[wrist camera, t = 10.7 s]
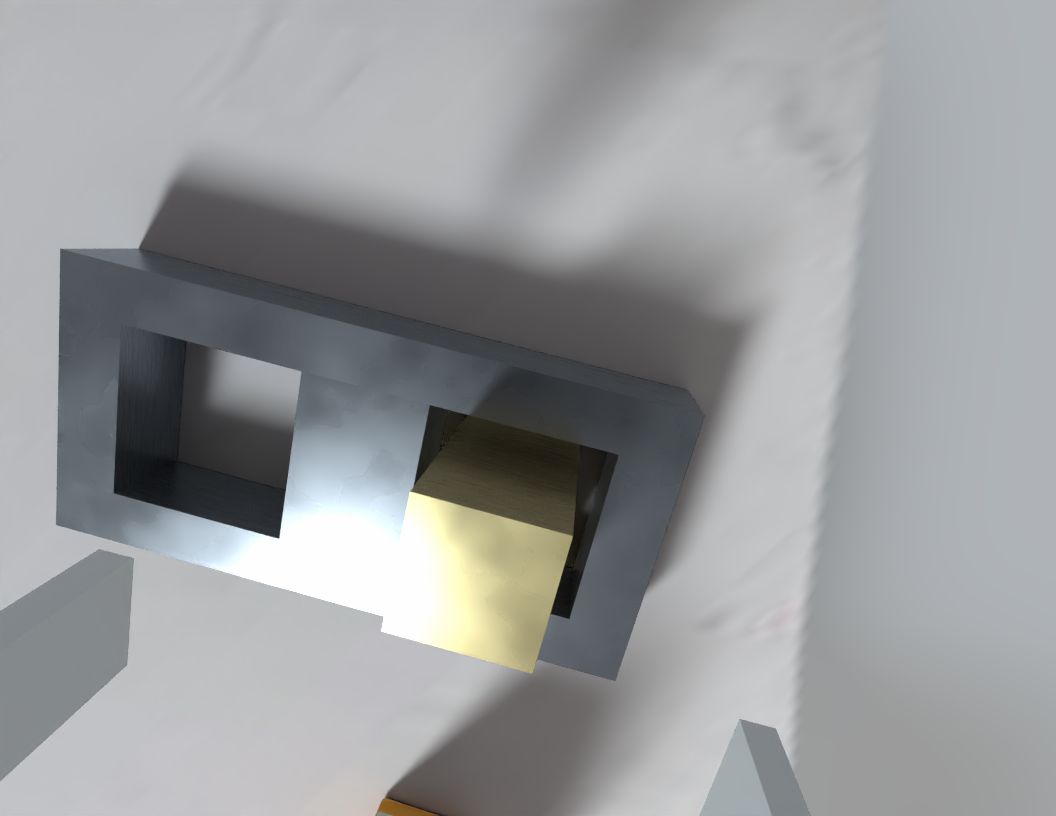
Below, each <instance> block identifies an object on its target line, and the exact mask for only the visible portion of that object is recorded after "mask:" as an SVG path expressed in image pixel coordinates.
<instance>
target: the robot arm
mask: <svg viewBox="0 0 1056 816" xmlns="http://www.w3.org/2000/svg"><path fill="white" fill-rule="evenodd" d="M133 563H134V558H130V557H127V556H123V555H119V554H115V553H112V552H108V551H104V550H100V549H99V550H97V551H96V552H94V553H92V554H91V555H89V556H88V557H86V558H84V559H83V560H81V561H80V562H78V563H76V564H75V565H73V566H72V567H70V568H68V569H67V570H65V571H64V572H62V573H60V574H59V575H57V576H56V577H54V578H52V579H51V580H49V581H48V582H46V583H44V584H43V585H41V586H40V587H38V588H36V589H35V590H33V591H32V592H30V593H28V594H27V595H25V596H24V597H22V598H20V599H19V600H17V601H16V602H14V603H12V604H11V605H9V606H8V607H6V608H4V609H3V610H1V611H0V781H1V780H2V779H3V778H4V777H5V776H7V775H8V774H9V773H10V772H11V771H12V770H13V769H14V768H15V767H16V766H17V765H19V764H20V763H21V762H22V761H23V760H24V759H25V758H26V757H27V756H28V755H29V754H31V753H32V752H33V751H34V750H35V749H36V748H37V747H38V746H39V745H40V744H41V743H43V742H44V741H45V740H46V739H47V738H48V737H49V736H50V735H51V734H52V733H53V732H55V731H56V730H57V729H58V728H59V727H60V726H61V725H62V724H63V723H64V722H65V721H67V720H68V719H69V718H70V717H71V716H72V715H73V714H74V713H75V712H76V711H77V710H79V709H80V708H81V707H82V706H83V705H84V704H85V703H86V702H87V701H88V700H89V699H91V698H92V697H93V696H94V695H95V694H96V693H97V692H98V691H99V690H100V689H101V688H103V687H104V686H105V685H106V684H107V683H108V682H109V681H110V680H111V679H112V678H113V677H115V676H116V675H117V674H118V673H119V672H120V671H121V670H122V669H123V668H124V667H125V666H127V660H128V644H129V628H130V611H131V595H132V579H133ZM700 816H811V815H810V812H809V810H808V808H807V805H806V803H805V800H804V798H803V795H802V793H801V790H800V788H799V785H798V783H797V780H796V778H795V775H794V773H793V770H792V768H791V765H790V763H789V760H788V758H787V755H786V753H785V750H784V748H783V745H782V743H781V740H780V738H779V735H778V733H777V730H776V729H775V728H771V727H768V726H764V725H760V724H756V723H753V722H749V721H745V720H741V719H739V722H738V724H737V726H736V729H735V731H734V734H733V736H732V738H731V741H730V743H729V746H728V748H727V750H726V753H725V755H724V758H723V760H722V763H721V765H720V767H719V770H718V772H717V775H716V777H715V779H714V782H713V784H712V787H711V789H710V791H709V794H708V796H707V799H706V801H705V804H704V806H703V808H702V811H701V813H700Z"/></svg>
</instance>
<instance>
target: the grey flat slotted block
mask: <svg viewBox="0 0 1056 816" xmlns="http://www.w3.org/2000/svg"><path fill="white" fill-rule="evenodd" d="M186 341H189V342H193V343H196V344H200V345H204V346H208V347H212V348H215V349H219V350H223V351H227V352H231V353H234V354H238V355H242V356H246V357H250V358H253V359H257V360H261V361H265V362H269V363H272V364H276V365H280V366H284V367H288V368H291V369H295V370H299V371H302V374H301V381H300V389H299V396H298V403H297V411H296V418H295V426H294V433H293V441H292V448H291V456H290V463H289V471H288V478H287V486H286V491H285V490H281V489H278V488H274V487H270V486H267V485H263V484H259V483H256V482H252V481H248V480H244V479H241V478H237V477H233V476H230V475H226V474H222V473H219V472H215V471H211V470H208V469H204V468H200V467H197V466H193V465H189V464H186V463H182V462H178V461H177V451H178V438H179V425H180V412H181V399H182V386H183V373H184V359H185V346H186ZM448 410H451V411H455V412H458V413H462V414H466V415H470V416H474V417H477V418H481V419H485V420H489V421H493V422H496V423H500V424H504V425H508V426H512V427H515V428H519V429H523V430H527V431H531V432H534V433H538V434H542V435H546V436H550V437H553V438H557V439H561V440H565V441H569V442H572V443H576V444H580V445H584V446H588V447H591V448H595V449H599V450H603V451H607V455H606V459H605V462H604V465H603V469H602V472H601V476H600V479H599V482H598V486H597V489H596V493H595V496H594V499H593V503H592V506H591V509H590V513H589V516H588V520H587V523H586V526H585V530H584V533H583V537H582V540H581V543H580V547H579V550H578V554H577V557H576V560H575V564H574V567H573V569H571V568H568V567H564V569H563V572H562V576H561V579H560V582H559V586H558V589H557V593H556V596H555V599H554V603H553V606H552V610H551V613H550V616H549V620H548V623H547V627H546V630H545V633H544V637H543V640H542V643H541V647H540V650H539V654H538V657H537V659H538V660H542V661H546V662H549V663H553V664H556V665H560V666H563V667H567V668H571V669H574V670H578V671H581V672H585V673H589V674H592V675H596V676H599V677H603V678H606V679H610V680H614V681H615V680H616V677H617V674H618V671H619V668H620V665H621V662H622V659H623V656H624V653H625V650H626V647H627V644H628V641H629V638H630V635H631V632H632V629H633V626H634V624H635V621H636V618H637V615H638V612H639V609H640V606H641V603H642V600H643V597H644V594H645V591H646V588H647V585H648V582H649V579H650V576H651V573H652V570H653V567H654V564H655V561H656V558H657V555H658V553H659V550H660V547H661V544H662V541H663V538H664V535H665V532H666V529H667V526H668V523H669V520H670V517H671V514H672V511H673V508H674V505H675V502H676V499H677V496H678V493H679V490H680V487H681V485H682V482H683V479H684V476H685V473H686V470H687V467H688V464H689V461H690V458H691V455H692V452H693V449H694V446H695V443H696V440H697V437H698V434H699V431H700V428H701V425H702V422H703V419H704V417H705V415H704V414H703V412H702V411H701V409H700V408H699V406H698V404H697V403H696V401H695V400H694V398H693V397H692V395H691V394H690V392H689V391H688V390H685V389H681V388H677V387H673V386H669V385H665V384H661V383H657V382H654V381H650V380H646V379H642V378H638V377H634V376H630V375H626V374H623V373H619V372H615V371H611V370H607V369H603V368H599V367H595V366H591V365H588V364H584V363H580V362H576V361H572V360H568V359H564V358H560V357H556V356H553V355H549V354H545V353H541V352H537V351H533V350H529V349H525V348H522V347H518V346H514V345H510V344H506V343H502V342H498V341H494V340H490V339H487V338H483V337H479V336H475V335H471V334H467V333H463V332H459V331H455V330H452V329H448V328H444V327H440V326H436V325H432V324H428V323H424V322H421V321H417V320H413V319H409V318H405V317H401V316H397V315H393V314H389V313H386V312H382V311H378V310H374V309H370V308H366V307H362V306H358V305H354V304H351V303H347V302H343V301H339V300H335V299H331V298H327V297H323V296H319V295H316V294H312V293H308V292H304V291H300V290H296V289H292V288H288V287H285V286H281V285H277V284H273V283H269V282H265V281H261V280H257V279H253V278H250V277H246V276H242V275H238V274H234V273H230V272H226V271H222V270H218V269H215V268H211V267H207V266H203V265H199V264H195V263H191V262H187V261H184V260H180V259H176V258H172V257H168V256H164V255H160V254H156V253H152V252H149V251H145V250H141V249H60V312H59V379H58V445H57V511H56V525H59V526H62V527H66V528H70V529H73V530H77V531H80V532H84V533H87V534H91V535H95V536H98V537H102V538H105V539H109V540H112V541H116V542H120V543H123V544H127V545H130V546H134V547H138V548H141V549H145V550H148V551H152V552H155V553H159V554H163V555H166V556H170V557H173V558H177V559H180V560H184V561H188V562H191V563H195V564H198V565H202V566H206V567H209V568H213V569H216V570H220V571H223V572H227V573H231V574H234V575H238V576H241V577H245V578H248V579H252V580H256V581H259V582H263V583H266V584H270V585H274V586H277V587H281V588H284V589H288V590H291V591H295V592H299V593H302V594H306V595H309V596H313V597H316V598H320V599H324V600H327V601H331V602H334V603H338V604H342V605H345V606H349V607H352V608H356V609H359V610H363V611H367V612H370V613H374V614H377V615H381V616H384V617H385V612H386V607H387V602H388V597H389V592H390V587H391V582H392V577H393V572H394V567H395V562H396V558H397V553H398V548H399V543H400V538H401V533H402V528H403V523H404V518H405V513H406V508H407V503H408V498H409V493H410V491H411V489H412V488H413V487H414V485H415V484H416V483H417V481H418V480H419V479H420V478H421V476H422V475H423V474H424V472H425V471H426V470H427V468H428V467H429V466H430V464H431V463H432V462H433V460H434V459H435V458H436V457H437V455H438V454H439V450H440V445H441V440H442V436H443V431H444V426H445V421H446V417H447V412H448Z"/></svg>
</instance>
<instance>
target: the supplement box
mask: <svg viewBox="0 0 1056 816" xmlns="http://www.w3.org/2000/svg"><path fill="white" fill-rule="evenodd" d="M376 816H438V815H436V814H433V813H430V812H427V811H424V810H420V809H418V808H414V807H411V806H408V805H405V804H402V803H400V802H397V801H394V800H391V799H388V798H385V799H383V800H382V801H381V804H380V806H379V809H378V811H377V813H376Z"/></svg>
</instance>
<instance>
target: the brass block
mask: <svg viewBox="0 0 1056 816" xmlns="http://www.w3.org/2000/svg"><path fill="white" fill-rule="evenodd" d="M579 454H580V444H576V443H572V442H569V441H565V440H561V439H557V438H553V437H550V436H546V435H542V434H538V433H534V432H531V431H527V430H523V429H519V428H515V427H512V426H508V425H504V424H500V423H496V422H493V421H489V420H485V419H481V418H477V417H474V416H470V415H468V416H467V417H466V418H465V420H464V421H463V422H462V424H461V425H460V426H459V428H458V429H457V430H456V432H455V433H454V434H453V435H452V437H451V438H450V439H449V441H448V442H447V443H446V445H445V446H444V447H443V449H442V450H441V451H440V453H439V454H438V455H437V457H436V458H435V459H434V460H433V462H432V463H431V464H430V466H429V467H428V468H427V470H426V471H425V472H424V474H423V475H422V476H421V478H420V479H419V480H418V481H417V483H416V484H415V485H414V487H413V488H412V489H411V491H410V493H409V498H408V503H407V508H406V513H405V518H404V523H403V528H402V533H401V538H400V543H399V548H398V553H397V558H396V562H395V567H394V572H393V577H392V582H391V587H390V592H389V597H388V602H387V607H386V612H385V617H384V622H383V627H382V631H383V632H387V633H390V634H394V635H397V636H401V637H404V638H408V639H412V640H415V641H419V642H422V643H426V644H429V645H433V646H436V647H440V648H443V649H447V650H450V651H454V652H457V653H461V654H464V655H468V656H471V657H475V658H478V659H482V660H485V661H489V662H492V663H496V664H500V665H503V666H507V667H510V668H514V669H517V670H521V671H524V672H528V673H531V674H533V671H534V667H535V664H536V660H537V657H538V654H539V650H540V647H541V643H542V640H543V637H544V633H545V630H546V627H547V623H548V620H549V616H550V613H551V610H552V606H553V603H554V599H555V596H556V593H557V589H558V586H559V582H560V579H561V576H562V572H563V569H564V565H565V562H566V559H567V555H568V552H569V548H570V545H571V542H572V538H573V531H574V518H575V505H576V493H577V480H578V467H579Z"/></svg>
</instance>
